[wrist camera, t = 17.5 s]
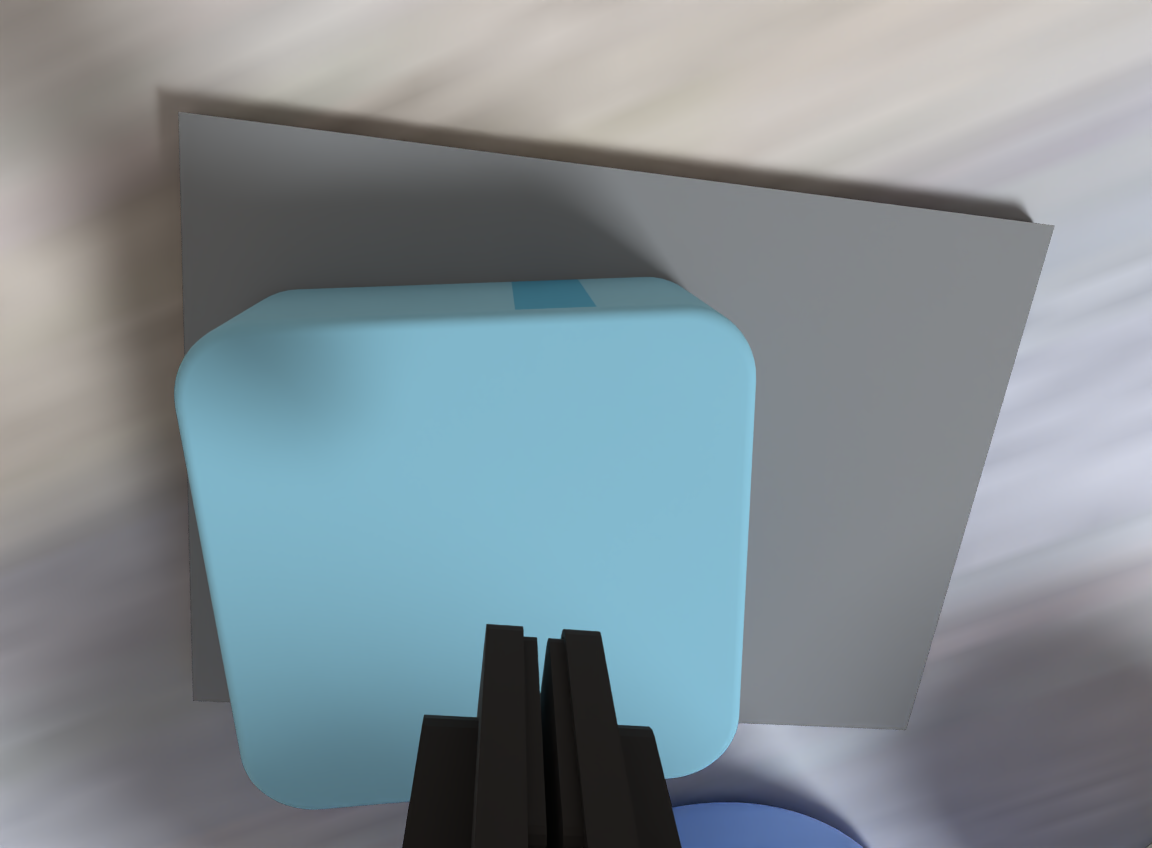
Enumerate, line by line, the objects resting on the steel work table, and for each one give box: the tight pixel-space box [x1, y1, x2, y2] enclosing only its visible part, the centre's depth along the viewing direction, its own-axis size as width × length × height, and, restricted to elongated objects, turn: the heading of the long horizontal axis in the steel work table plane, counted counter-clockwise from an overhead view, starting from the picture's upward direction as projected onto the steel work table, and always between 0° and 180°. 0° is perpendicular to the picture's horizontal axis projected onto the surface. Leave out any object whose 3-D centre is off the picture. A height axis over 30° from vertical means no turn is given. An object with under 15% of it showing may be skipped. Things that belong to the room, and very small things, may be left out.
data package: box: [174, 277, 756, 810], centre depth 20 cm, size 12×4×12 cm
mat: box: [178, 112, 1054, 730], centre depth 23 cm, size 22×16×1 cm
